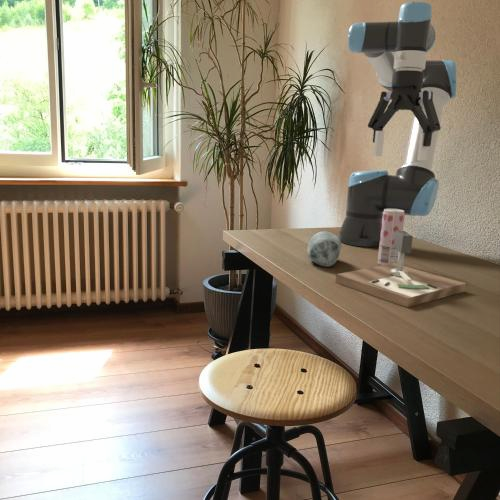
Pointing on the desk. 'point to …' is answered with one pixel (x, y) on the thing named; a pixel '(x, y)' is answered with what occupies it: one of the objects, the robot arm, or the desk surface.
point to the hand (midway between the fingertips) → (398, 158)
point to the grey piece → (402, 253)
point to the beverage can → (390, 235)
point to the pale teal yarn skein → (324, 248)
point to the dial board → (400, 285)
